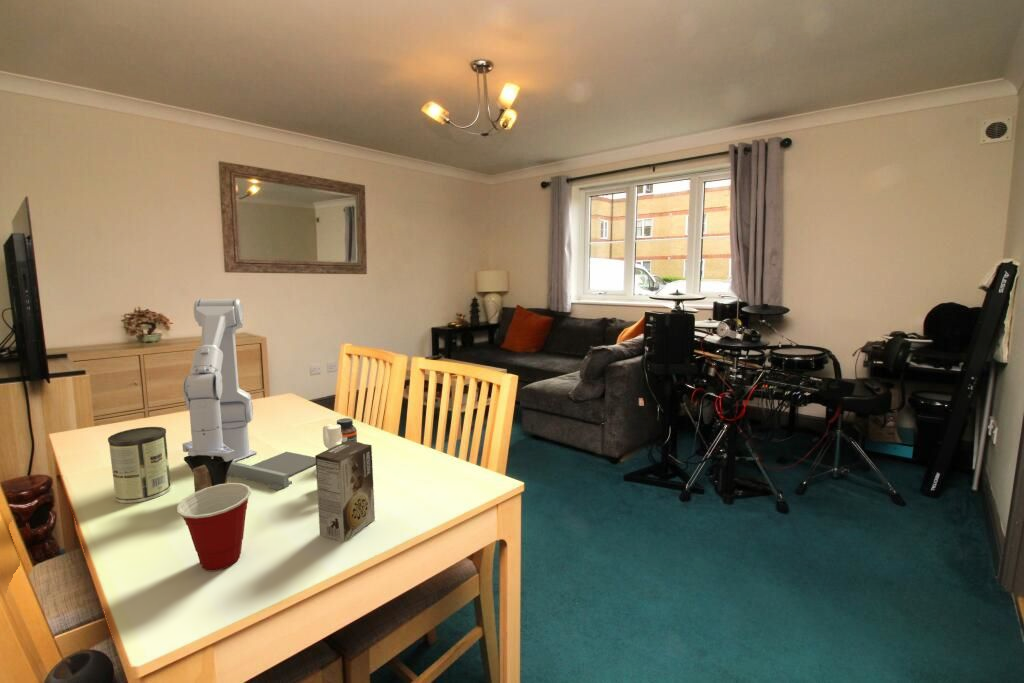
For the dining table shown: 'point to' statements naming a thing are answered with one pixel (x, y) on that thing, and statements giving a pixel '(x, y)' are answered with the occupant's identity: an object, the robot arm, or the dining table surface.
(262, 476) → the low wall
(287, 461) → the mat
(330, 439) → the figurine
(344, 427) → the supplement bottle
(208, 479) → the walnut block
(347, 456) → the coffee box
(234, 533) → the plastic cup
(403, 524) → the dining table surface
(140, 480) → the coffee can
